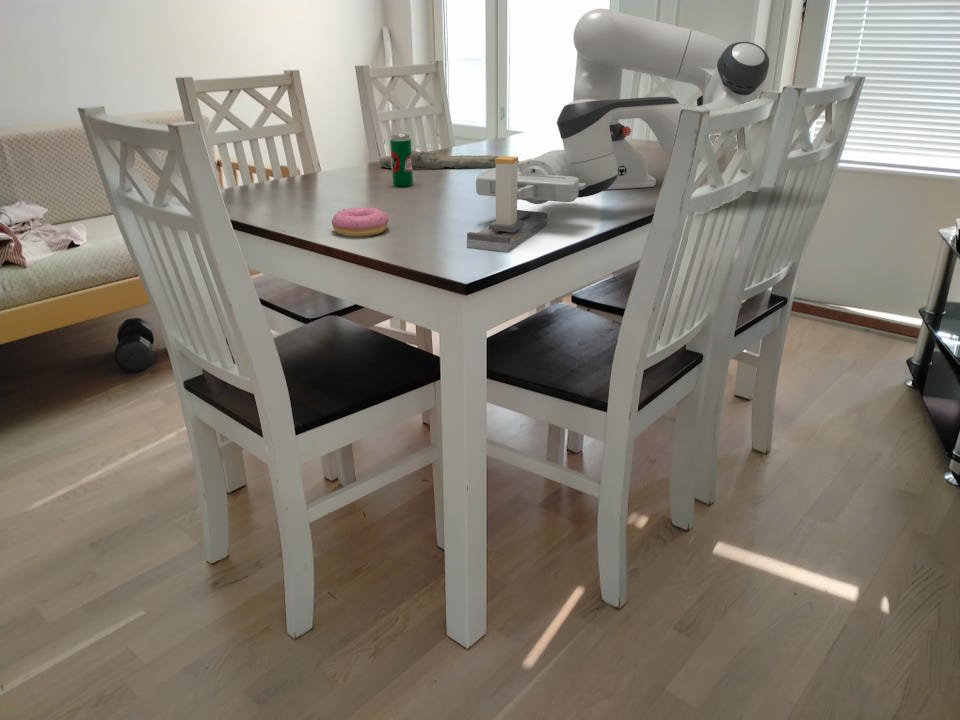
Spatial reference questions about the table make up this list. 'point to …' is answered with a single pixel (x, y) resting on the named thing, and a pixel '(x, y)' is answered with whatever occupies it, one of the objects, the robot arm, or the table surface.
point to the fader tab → (506, 195)
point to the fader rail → (508, 233)
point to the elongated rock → (444, 161)
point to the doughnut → (360, 222)
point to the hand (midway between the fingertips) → (512, 194)
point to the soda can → (401, 160)
